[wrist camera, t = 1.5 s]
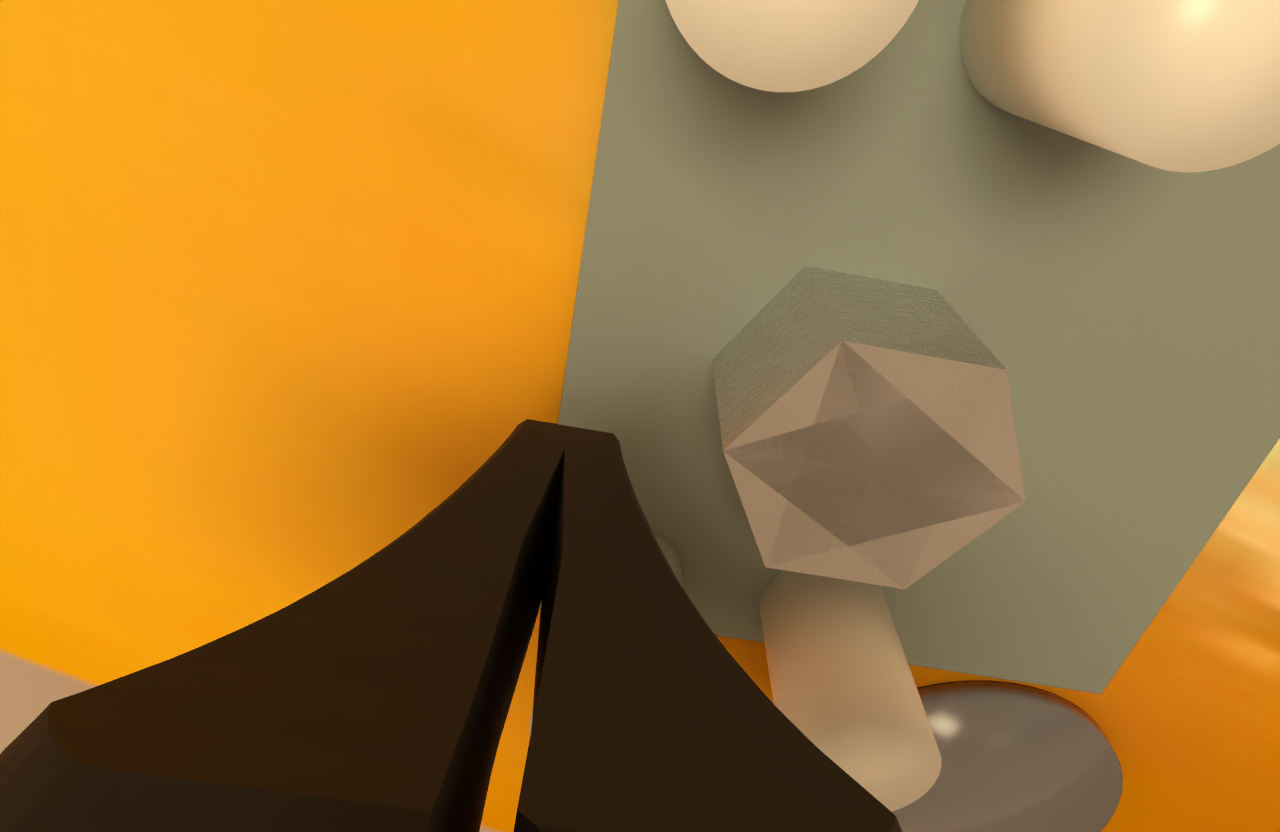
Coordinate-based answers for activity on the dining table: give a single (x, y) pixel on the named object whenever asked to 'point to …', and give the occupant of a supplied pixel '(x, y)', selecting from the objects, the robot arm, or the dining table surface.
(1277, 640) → the dining table surface
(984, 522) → the faceted crystal gem
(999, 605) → the mat
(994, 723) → the grey round coaster
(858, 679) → the beige capsules
